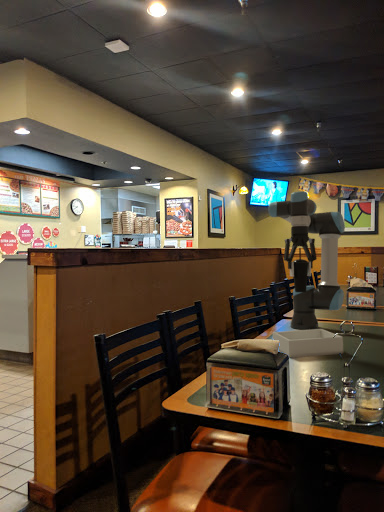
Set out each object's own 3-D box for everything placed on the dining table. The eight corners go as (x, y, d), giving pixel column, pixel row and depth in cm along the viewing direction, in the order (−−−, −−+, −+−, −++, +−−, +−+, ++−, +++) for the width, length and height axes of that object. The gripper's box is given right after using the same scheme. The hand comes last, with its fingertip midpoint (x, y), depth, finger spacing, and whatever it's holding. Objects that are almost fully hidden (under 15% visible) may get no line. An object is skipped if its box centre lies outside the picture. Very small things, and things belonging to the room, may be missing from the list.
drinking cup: (310, 292, 177) (309, 247, 178) (292, 292, 179) (291, 247, 179) (308, 291, 185) (308, 247, 185) (291, 291, 187) (291, 248, 187)
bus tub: (322, 343, 185) (321, 328, 185) (343, 353, 168) (342, 336, 168) (272, 347, 181) (272, 332, 181) (289, 357, 164) (288, 340, 164)
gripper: (281, 225, 177) (282, 277, 177) (324, 225, 180) (325, 275, 180) (275, 226, 184) (276, 276, 184) (316, 226, 187) (317, 275, 187)
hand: (300, 276), depth 182 cm, fingers closed on drinking cup, 7 cm apart
